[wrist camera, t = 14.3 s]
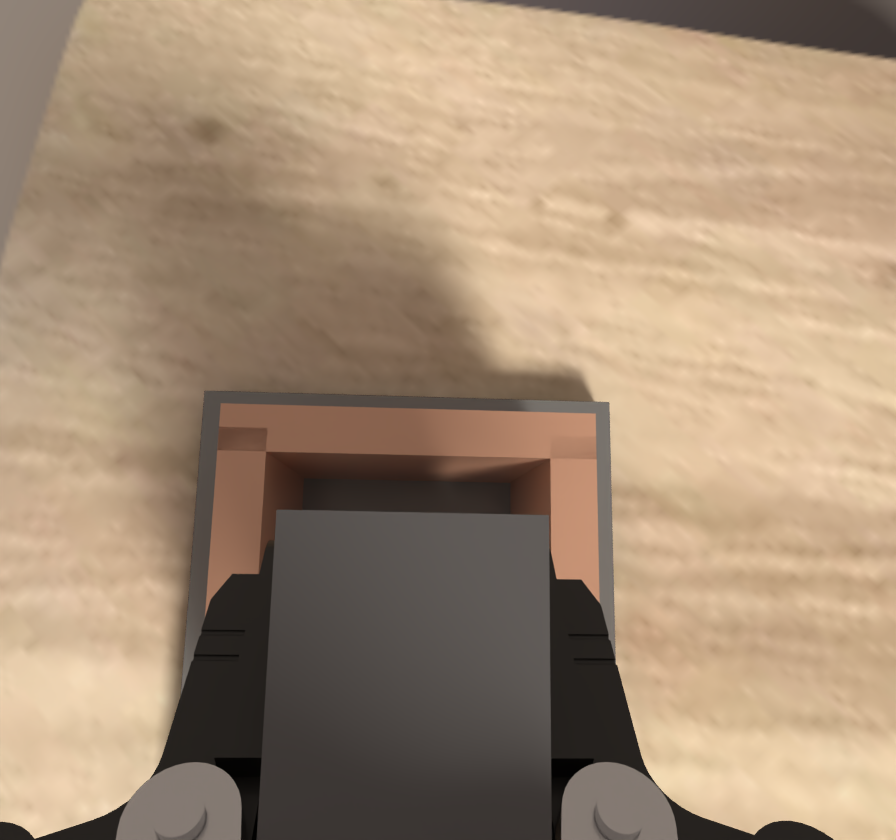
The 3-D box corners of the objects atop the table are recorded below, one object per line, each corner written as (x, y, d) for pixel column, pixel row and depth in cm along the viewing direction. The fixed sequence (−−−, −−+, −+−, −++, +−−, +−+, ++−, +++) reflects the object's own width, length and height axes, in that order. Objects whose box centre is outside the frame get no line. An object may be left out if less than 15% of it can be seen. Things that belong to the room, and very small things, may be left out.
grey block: (460, 536, 20) (548, 514, 8) (458, 688, 19) (551, 912, 7) (351, 534, 20) (276, 509, 8) (345, 688, 19) (251, 917, 7)
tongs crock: (598, 409, 23) (682, 349, 16) (607, 818, 21) (709, 952, 14) (215, 399, 22) (130, 331, 15) (183, 820, 20) (67, 963, 13)
